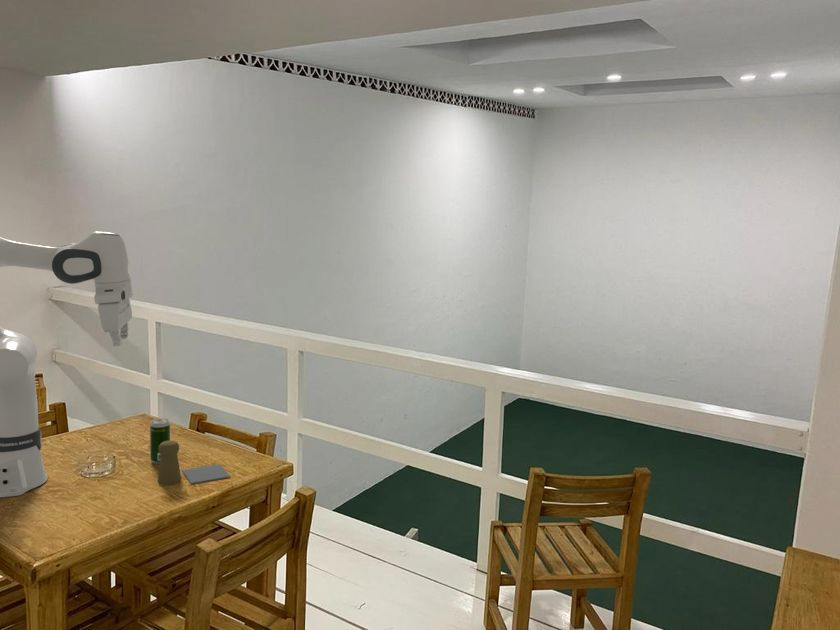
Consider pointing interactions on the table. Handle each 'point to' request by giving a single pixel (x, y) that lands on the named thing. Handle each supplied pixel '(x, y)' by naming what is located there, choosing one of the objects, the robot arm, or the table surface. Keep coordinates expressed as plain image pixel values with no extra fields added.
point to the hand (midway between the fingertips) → (121, 341)
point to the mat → (205, 474)
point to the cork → (169, 463)
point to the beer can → (158, 437)
